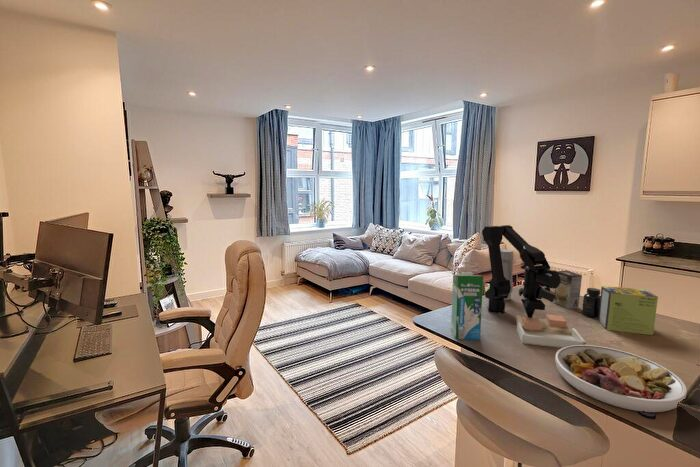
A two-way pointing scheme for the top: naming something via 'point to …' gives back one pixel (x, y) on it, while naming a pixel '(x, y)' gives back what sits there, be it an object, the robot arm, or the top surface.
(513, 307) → the top surface
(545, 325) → the oak board
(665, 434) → the top surface
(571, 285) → the coffee box
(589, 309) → the supplement bottle
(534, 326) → the tile
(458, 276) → the milk carton
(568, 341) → the tray
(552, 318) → the tile
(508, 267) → the water bottle
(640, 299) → the protein box
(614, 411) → the top surface
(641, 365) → the bowl
